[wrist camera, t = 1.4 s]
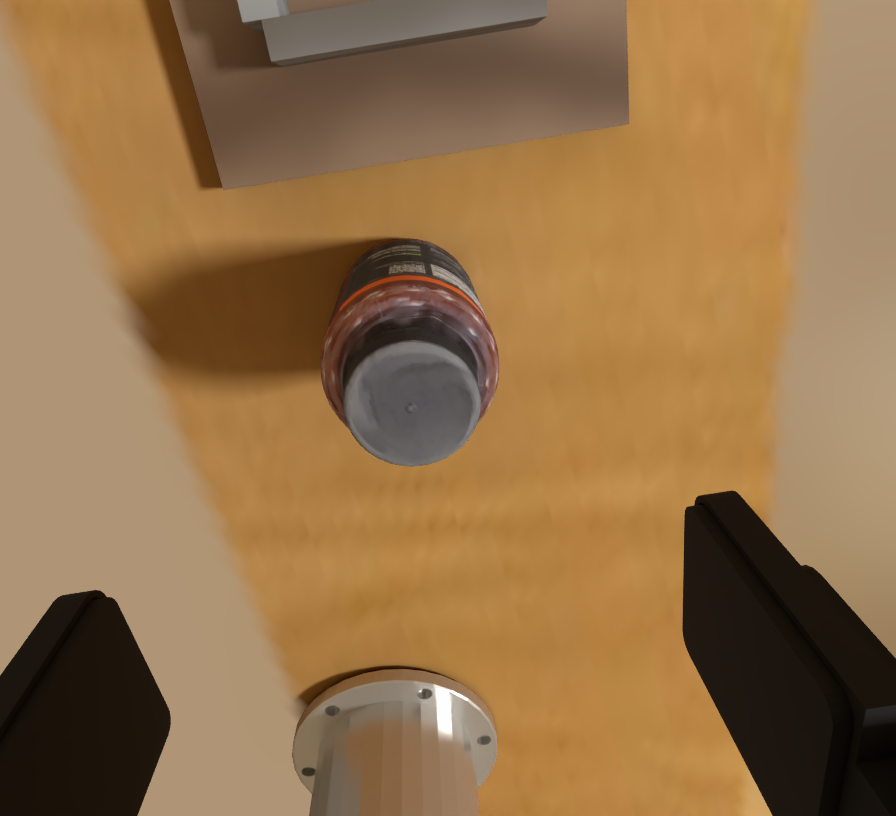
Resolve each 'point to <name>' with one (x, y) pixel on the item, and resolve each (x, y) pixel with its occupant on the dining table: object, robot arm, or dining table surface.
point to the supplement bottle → (409, 354)
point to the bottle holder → (395, 78)
